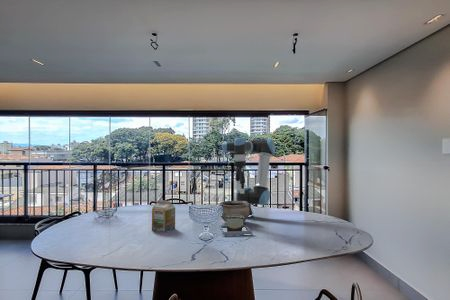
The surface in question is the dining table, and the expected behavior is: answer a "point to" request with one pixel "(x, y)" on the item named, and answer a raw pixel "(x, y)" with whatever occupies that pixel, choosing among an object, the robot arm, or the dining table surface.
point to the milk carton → (163, 216)
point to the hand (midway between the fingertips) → (240, 191)
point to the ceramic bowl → (235, 209)
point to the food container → (234, 222)
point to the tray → (235, 231)
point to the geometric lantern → (105, 193)
